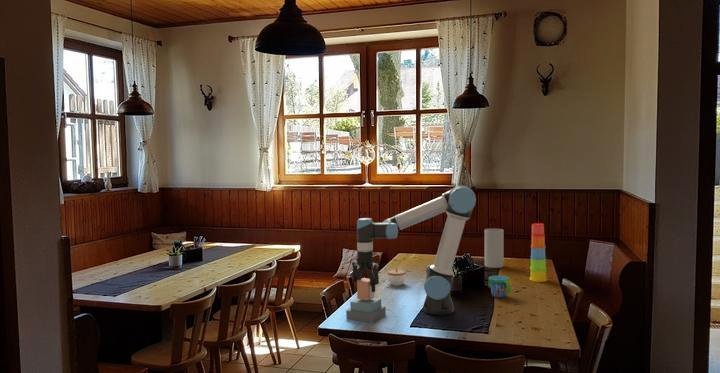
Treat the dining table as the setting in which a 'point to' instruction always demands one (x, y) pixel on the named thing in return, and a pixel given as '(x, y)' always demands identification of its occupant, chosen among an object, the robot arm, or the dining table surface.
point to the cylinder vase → (494, 248)
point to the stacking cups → (538, 254)
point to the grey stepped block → (366, 310)
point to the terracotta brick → (363, 289)
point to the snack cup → (499, 285)
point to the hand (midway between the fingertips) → (365, 297)
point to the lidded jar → (396, 277)
